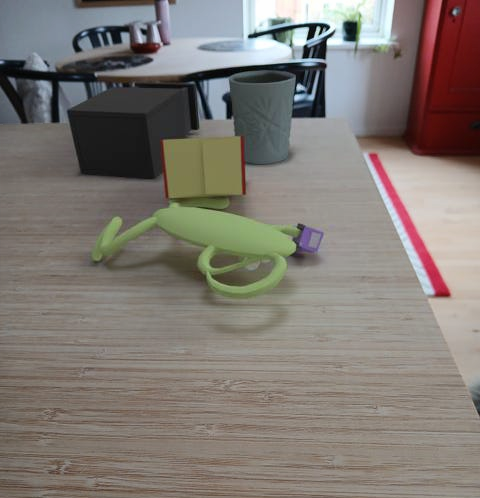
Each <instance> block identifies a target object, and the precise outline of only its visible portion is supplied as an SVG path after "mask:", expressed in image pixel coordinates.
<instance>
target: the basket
mask: <svg viewBox="0 0 480 498" xmlns="http://www.w3.org/2000/svg"><path fill="white" fill-rule="evenodd" d="M133 85H134V86H133V87H132V88H166V89H182V94H183V104H184V114H185V125H186V135H187V136H188V134H189V133H191V131H199V129H200V118H199V117H200V116H199V115H200V114H199V103H198V92H197V91H198V90H197V83H196V82H164V81H163V82H162V81H136V82H134V83H133Z"/></svg>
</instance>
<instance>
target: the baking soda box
mask: <svg viewBox="0 0 480 498" xmlns="http://www.w3.org/2000/svg"><path fill="white" fill-rule="evenodd" d="M160 141H161V152H162V163H163V172H162V173H163V175H162V176H163V185H164V196H165V199H179V198H186V197H208V196H226V197H228V196H245V195H247V189H246V188H247V186H246V185H247V184H246V182H247V181H246V162H245V156H244V136H235V135H234V136H213V137H212V136H211V137H192V138H191V137H190V138H187V139H168V140H160Z"/></svg>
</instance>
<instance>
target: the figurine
mask: <svg viewBox="0 0 480 498" xmlns="http://www.w3.org/2000/svg"><path fill="white" fill-rule="evenodd" d="M230 202H231V201H230V199H229V197H228V196H208V197H186V198H173V199H170V200H169V201H168V203H167V205H168V206H167V207H165V208H163V207H162V208H160V209H157V210H156V211H155V212H154V213H153V214H152V217H147V218H146V219H144V220H142V221H140V222H139V223H137V224H135V225H133V226H132V227H130V228H129V229H126V230H125V231H123V232H122V233H121V234H119V235H117V234H118V231H119V230H120V228H121V227H122V225H123V219H122V218H121V217H120V216H114V217H113V218H112V219H111V220H110V221H109V222H108V223H107V224H106V226H105V227H104V228H103V229H102V231H101V232H100V234H99V236H98V237H97V239H96V241H95V243H94V245H93V247H92V251H91V258H92V260H93V261H96V262H98V261H101V260H102V257H103V256H105V257H110V256H113V255H114V254H115V253H116V252H118V251H119V250H120V249H122V248H123V247H124V246H125V245H128V243H130V242H131V241H133V240H135V239H137V238H139V237H141V236H143V234H145V233H147V232H148V231H150V230H152V229H154V228H159V229H160V230H162V231H164V232H165V233H167V234H169V235H170V236H171V237H173V238H176V239H179V240H181V241H183V242H186V243H188V244H189V245H193V246H196V247H198V248H202V249H203V250H202V252H201V253H200V254H199V256H198V257H197V263H196V267H197V268H198V269H199V272H201V273H202V275H206V283H207V285H208V286H209V288H210V289H211V291H212V292H213V293H215V294H217V295H219V296H221V297H224V298H228V299H233V300H248V299H252V298H255V297H258V296H261V295H263V294H266V293H268V292H269V291H271V290H273V289H274V288H276V287H277V286H278V285H279V283H280V282H281V281H282V280H283V278H284V277H285V274H286V272H287V270H288V264H287V261H286V258H287V257H289V256H291V255H293V254H295V253H296V251H297V252H305V253H318V251H319V248H320V246H321V243H322V239H323V238H324V234H325V232H323V231H321V230H318V229H315V228H312V227H309V226H307V225H305V224H303V223H300V222H299V223H297V225H296V226H295V225H289V224H288V225H287V224H286V225H278V224H266V223H263V222H261V221H258V220H255V219H252V218H249V217H245V216H242V215H237V214H234V213H230V212H226V211H221V209H222V210H223V209H226V208H228V207H229V205H230ZM207 208H208V209H207ZM214 209H215V210H214ZM116 235H117V236H116ZM289 236H290V237H292V239H291V238H290V237H289ZM218 253H221V254H227V255H232V256H236V257H237V259H238V260H239V261H240V262H237V263H233V264H230V265H228V266H223V267H220V268H214V267H212V266H211V264H210V262H211V260H212V259H213V258H214V257H215V255H217V254H218ZM270 262H273V264H274V265H273V267H272V270H271V271H270V272H269V273H268V275H267V276H265V277H264V278H262V279H260V280H258V281H256V282H254V283H250V284H247V285H243V286H236V285H228V284H224V283H220V282H219V281H217V280H215V279H214V278H213V276H216V275H221V274H224V273H227V272H230V271H233V270H236V269H240V268H242V267H244V268H245V269H246V270H247V271H248V272H250V273H252V272H254V271H255V270H257V269H258V268H259V266H260V263H264V264H265V263H270Z"/></svg>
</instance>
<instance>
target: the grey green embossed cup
mask: <svg viewBox="0 0 480 498" xmlns="http://www.w3.org/2000/svg"><path fill="white" fill-rule="evenodd" d="M296 79H297V77H296V74H295V73H291V72H288V71H282V70H281V71H280V70H265V69H264V70H250V71H243V72H238V73H234V74H231V75H230V76H229V77H228V85H229V92H230V94H229V95H230V101H231V103H232V104H231V110H232V111H231V112H232V120H233V128H234V129H233V132H234V136H244V156H245V164H252V165H269V164H270V165H271V164H277V163H279V162H282V161H284V160H286V159H287V158H288V156H289V152H290V137H291V129H292V119H293V117H292V116H293V103H294V97H295V87H296Z"/></svg>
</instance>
